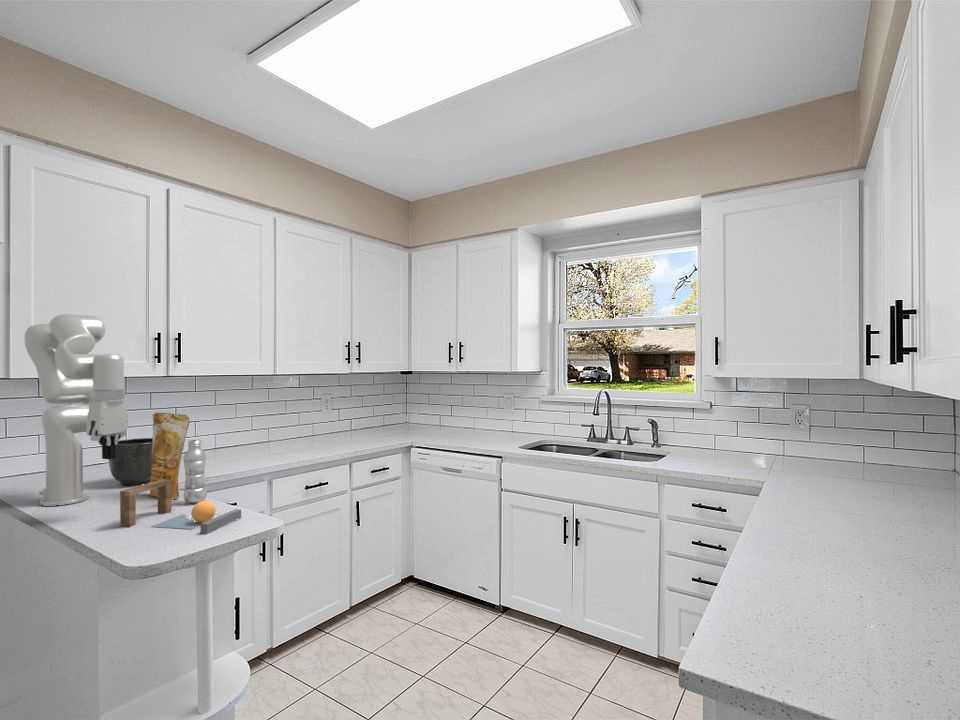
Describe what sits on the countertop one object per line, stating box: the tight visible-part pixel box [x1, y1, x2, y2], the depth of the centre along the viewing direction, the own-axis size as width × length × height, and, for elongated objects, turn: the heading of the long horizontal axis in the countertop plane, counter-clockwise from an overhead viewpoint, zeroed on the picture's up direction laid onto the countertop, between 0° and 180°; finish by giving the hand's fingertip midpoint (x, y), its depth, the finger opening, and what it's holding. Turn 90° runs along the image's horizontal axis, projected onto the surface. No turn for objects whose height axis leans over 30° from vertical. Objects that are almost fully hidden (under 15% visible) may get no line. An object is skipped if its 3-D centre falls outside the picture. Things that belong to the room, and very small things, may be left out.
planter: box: [108, 437, 153, 487], centre depth 198 cm, size 17×17×16 cm
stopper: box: [199, 509, 242, 535], centre depth 146 cm, size 2×14×2 cm, turn 169°
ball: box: [190, 500, 216, 523], centre depth 148 cm, size 6×6×6 cm
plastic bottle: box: [182, 439, 208, 504], centre depth 170 cm, size 6×7×20 cm
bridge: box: [119, 479, 173, 528], centre depth 153 cm, size 3×15×10 cm, turn 169°
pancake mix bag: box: [149, 412, 190, 500], centre depth 179 cm, size 7×19×28 cm, turn 57°
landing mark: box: [151, 513, 201, 530], centre depth 150 cm, size 13×13×1 cm
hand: (109, 458), depth 155 cm, fingers closed
